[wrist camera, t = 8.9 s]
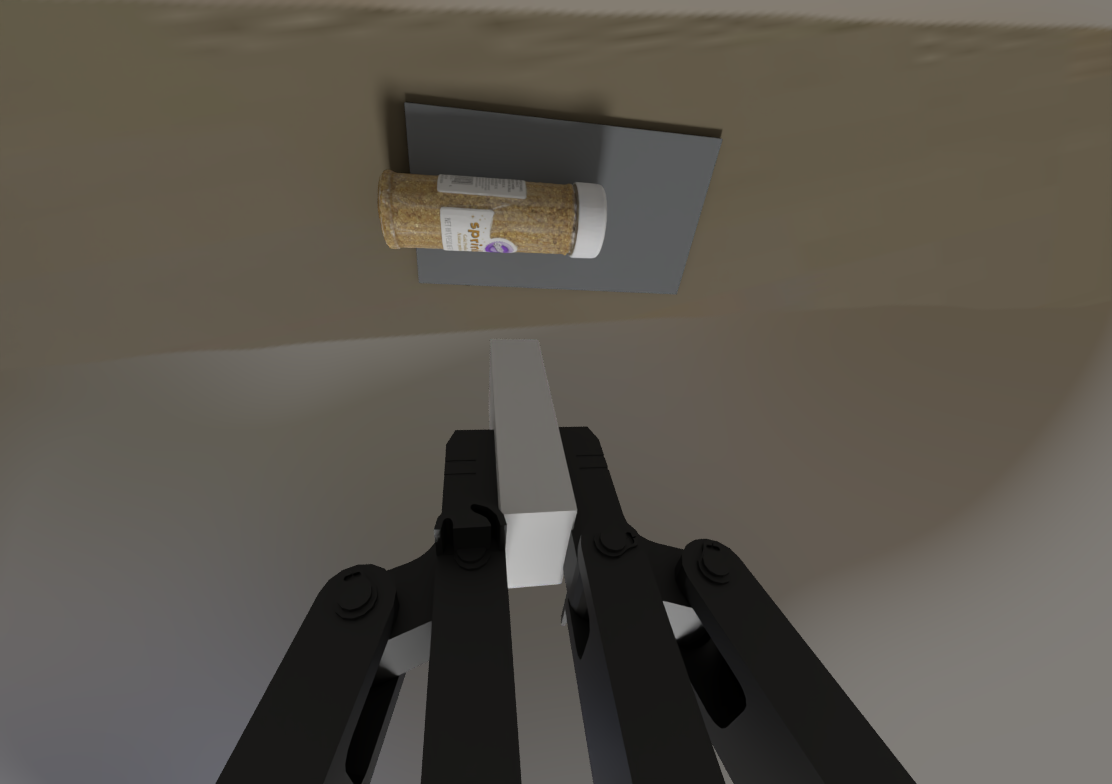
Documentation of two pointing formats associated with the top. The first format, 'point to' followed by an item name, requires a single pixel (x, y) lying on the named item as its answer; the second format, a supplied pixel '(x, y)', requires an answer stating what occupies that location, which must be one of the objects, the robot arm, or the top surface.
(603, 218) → the sprinkles bottle
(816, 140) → the top surface
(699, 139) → the mat
